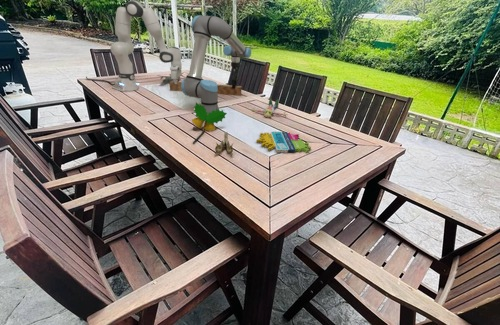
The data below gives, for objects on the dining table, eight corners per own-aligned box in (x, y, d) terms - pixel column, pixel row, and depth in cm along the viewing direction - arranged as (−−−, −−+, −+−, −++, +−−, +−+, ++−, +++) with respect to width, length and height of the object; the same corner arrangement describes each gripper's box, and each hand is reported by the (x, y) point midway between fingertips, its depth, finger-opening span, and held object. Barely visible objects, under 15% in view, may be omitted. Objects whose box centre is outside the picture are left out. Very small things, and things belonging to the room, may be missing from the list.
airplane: (151, 78, 274) (150, 68, 269) (181, 76, 288) (180, 67, 282) (158, 87, 246) (157, 77, 241) (191, 85, 259) (191, 75, 254)
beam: (241, 94, 242) (241, 86, 238) (240, 95, 237) (241, 87, 234) (171, 89, 242) (171, 80, 239) (170, 90, 238) (169, 82, 234)
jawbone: (234, 135, 144) (233, 125, 135) (233, 160, 138) (232, 151, 129) (217, 135, 144) (216, 125, 135) (216, 160, 138) (214, 150, 129)
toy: (291, 100, 208) (287, 111, 182) (290, 109, 211) (286, 120, 185) (257, 96, 213) (248, 105, 187) (256, 105, 216) (248, 115, 190)
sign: (313, 150, 142) (258, 149, 139) (312, 153, 143) (258, 152, 140) (301, 132, 164) (254, 130, 161) (301, 134, 165) (254, 133, 162)
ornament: (218, 133, 171) (224, 110, 169) (221, 134, 163) (227, 111, 161) (186, 125, 162) (192, 101, 160) (189, 126, 155) (195, 101, 153)
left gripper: (176, 64, 239) (176, 80, 246) (169, 68, 221) (170, 84, 228) (183, 65, 239) (183, 80, 246) (176, 69, 221) (177, 85, 228)
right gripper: (232, 59, 237) (231, 83, 247) (229, 63, 215) (228, 89, 225) (240, 60, 237) (239, 84, 247) (238, 64, 215) (237, 90, 225)
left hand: (177, 82), depth 237 cm, fingers open, 8 cm apart
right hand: (234, 86), depth 236 cm, fingers open, 13 cm apart
